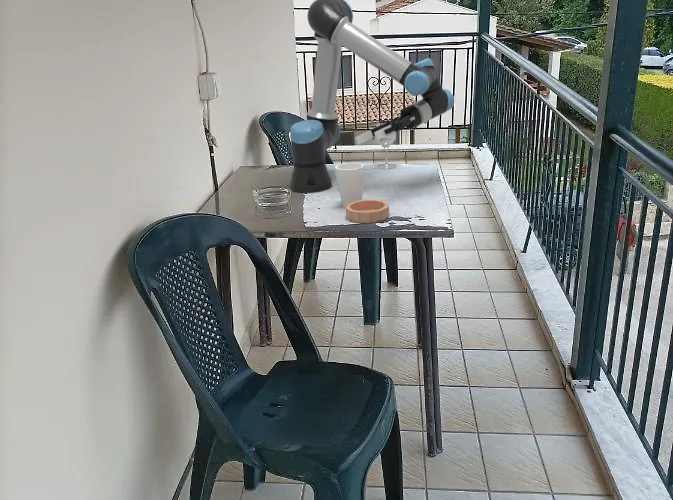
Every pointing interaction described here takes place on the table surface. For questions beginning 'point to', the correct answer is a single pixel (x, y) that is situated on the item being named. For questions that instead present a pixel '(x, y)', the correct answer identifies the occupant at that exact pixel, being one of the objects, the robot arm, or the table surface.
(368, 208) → the bowl
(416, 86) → the robot arm
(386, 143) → the wineglass
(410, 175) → the table surface
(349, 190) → the foam cup
